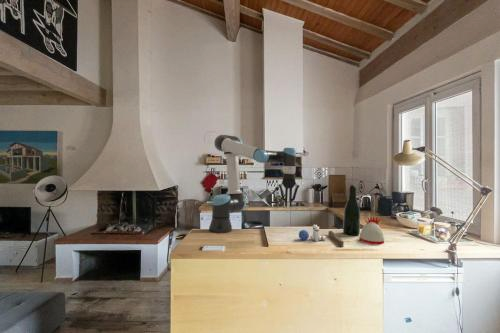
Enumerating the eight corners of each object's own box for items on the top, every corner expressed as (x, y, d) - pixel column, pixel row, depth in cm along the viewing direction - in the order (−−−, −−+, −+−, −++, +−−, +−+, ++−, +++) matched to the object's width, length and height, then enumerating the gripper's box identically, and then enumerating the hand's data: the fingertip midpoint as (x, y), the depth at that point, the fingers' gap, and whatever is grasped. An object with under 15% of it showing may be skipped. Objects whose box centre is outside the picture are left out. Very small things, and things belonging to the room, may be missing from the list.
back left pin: (311, 238, 170) (312, 225, 170) (314, 238, 171) (314, 224, 171) (315, 239, 168) (315, 225, 168) (317, 239, 170) (318, 225, 170)
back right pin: (313, 241, 165) (314, 226, 165) (315, 240, 166) (316, 226, 166) (317, 242, 163) (317, 227, 163) (319, 241, 165) (319, 227, 165)
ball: (311, 237, 166) (303, 243, 167) (306, 229, 170) (298, 234, 171) (308, 235, 162) (300, 240, 163) (303, 226, 166) (295, 232, 166)
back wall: (339, 246, 155) (339, 241, 155) (328, 235, 179) (328, 230, 179) (343, 246, 155) (343, 241, 155) (331, 235, 179) (331, 231, 179)
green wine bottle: (360, 236, 179) (362, 185, 178) (343, 235, 181) (345, 185, 181) (358, 232, 189) (360, 184, 188) (342, 231, 191) (343, 184, 191)
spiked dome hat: (386, 245, 161) (387, 219, 161) (361, 243, 164) (362, 218, 164) (380, 239, 175) (381, 215, 175) (357, 237, 177) (358, 214, 177)
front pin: (310, 234, 167) (324, 235, 167) (310, 237, 169) (324, 237, 169) (311, 238, 166) (325, 238, 165) (310, 240, 167) (324, 241, 167)
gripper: (278, 173, 163) (277, 212, 164) (300, 173, 163) (299, 213, 163) (277, 172, 171) (276, 210, 171) (298, 173, 171) (297, 211, 171)
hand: (287, 212), depth 167 cm, fingers closed
